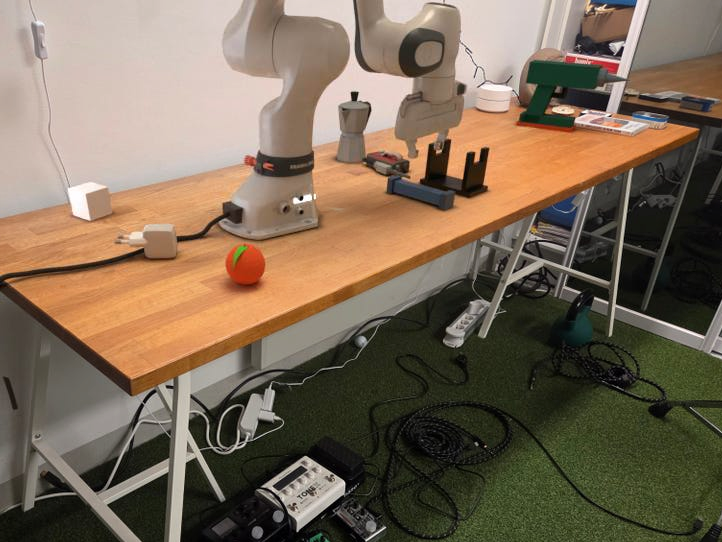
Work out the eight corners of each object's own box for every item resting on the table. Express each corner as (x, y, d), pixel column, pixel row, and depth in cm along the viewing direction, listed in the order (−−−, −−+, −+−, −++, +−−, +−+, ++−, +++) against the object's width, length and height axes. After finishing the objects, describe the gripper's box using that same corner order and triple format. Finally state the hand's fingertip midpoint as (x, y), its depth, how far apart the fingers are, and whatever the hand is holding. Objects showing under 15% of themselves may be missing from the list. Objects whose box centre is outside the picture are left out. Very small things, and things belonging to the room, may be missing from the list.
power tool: (617, 133, 203) (635, 67, 192) (613, 137, 198) (632, 70, 187) (521, 121, 217) (533, 59, 206) (516, 125, 212) (528, 61, 201)
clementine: (253, 296, 103) (251, 257, 99) (216, 289, 105) (213, 251, 101) (272, 277, 109) (271, 240, 105) (237, 271, 111) (235, 234, 107)
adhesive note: (73, 215, 135) (67, 188, 131) (95, 208, 139) (90, 181, 136) (90, 221, 132) (85, 193, 129) (112, 213, 136) (108, 186, 133)
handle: (444, 210, 139) (446, 195, 137) (386, 192, 150) (387, 178, 148) (453, 206, 141) (455, 191, 139) (395, 189, 152) (396, 175, 150)
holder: (469, 197, 147) (476, 154, 141) (419, 183, 156) (423, 142, 150) (487, 190, 151) (494, 148, 146) (437, 177, 160) (443, 137, 155)
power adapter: (116, 261, 114) (111, 231, 111) (121, 251, 119) (116, 222, 115) (176, 260, 115) (172, 230, 112) (178, 250, 119) (175, 221, 116)
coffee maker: (351, 166, 168) (355, 96, 158) (325, 161, 172) (327, 92, 162) (379, 155, 178) (384, 89, 168) (354, 150, 182) (358, 85, 172)
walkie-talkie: (355, 165, 169) (406, 183, 155) (356, 149, 166) (408, 166, 153) (379, 160, 173) (430, 178, 160) (380, 144, 171) (432, 160, 157)
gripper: (414, 98, 124) (407, 166, 132) (471, 84, 135) (462, 147, 143) (390, 93, 128) (385, 159, 136) (448, 80, 139) (440, 142, 147)
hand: (425, 153), depth 140 cm, fingers open, 8 cm apart
